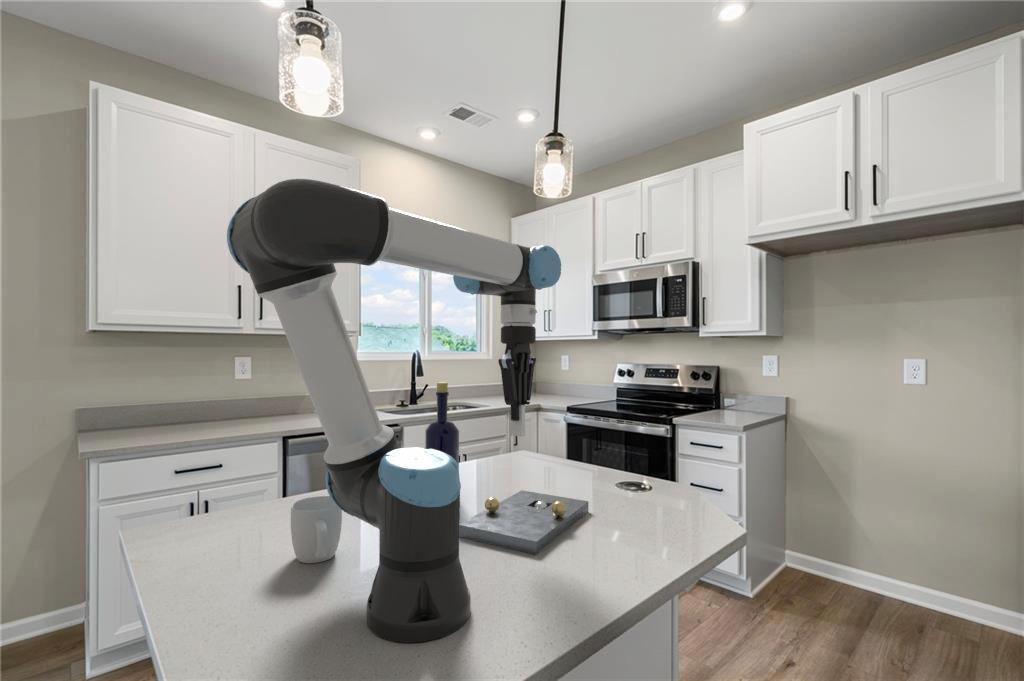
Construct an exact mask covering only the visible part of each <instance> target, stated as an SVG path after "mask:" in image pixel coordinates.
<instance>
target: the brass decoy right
mask: <svg viewBox="0 0 1024 681" xmlns="http://www.w3.org/2000/svg"><path fill="white" fill-rule="evenodd" d="M551 509H552V513H553V514H554V515H555V516H558V517H560V516H563V515H564V514H565V512H566V506H565V504H564V503H563V502H561V501H556V502H554V503H553V505H552V508H551Z"/></svg>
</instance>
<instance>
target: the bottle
mask: <svg viewBox="0 0 1024 681" xmlns="http://www.w3.org/2000/svg"><path fill="white" fill-rule="evenodd" d="M448 388H449V386H448V382H445V381H443V382H441V381H439V382H436V392H435V397H436V421H432V422H430V423H429V424H428V426H427V427H426V428H425V430H424V449H435V450H439V451H441V452H444V453H446V454H448V455H450V456H451V457H452V458H453V459H454V460H455V461H456V462H457V465H458V468H459V469H460V464H459V463H460V459H459V458H460V457H459V456H460V451H459V450H460V430H459V429H458V427H457V426H456V424H455V423H454V422H452V421H450V420H448V396H449V391H448Z"/></svg>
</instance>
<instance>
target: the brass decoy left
mask: <svg viewBox="0 0 1024 681" xmlns="http://www.w3.org/2000/svg"><path fill="white" fill-rule="evenodd" d="M499 502H500V501H499V500H498V499H497V498H496V497H488V498H487V499H486V500H485V503H484V508H485V510H487V511H488V512H495V511H497V510H498V508H499Z"/></svg>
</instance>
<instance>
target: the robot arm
mask: <svg viewBox="0 0 1024 681" xmlns="http://www.w3.org/2000/svg"><path fill="white" fill-rule="evenodd" d="M226 243H227V248H228V250H229V253H230V255H231V257H232V259H233V260H234V261H235V263H236V264H237V265H238V266H239V267H240V268H241V269H242V270H243V271H244V272H246V273H247V274H249V277H250V280H251V281H252V284H253V286H254V289H255V291H256V293H257V296H258V297H260V298H261V299H264V300H266V301H268V302H270V303H271V304H272V305H273V306H274V309H275V311H276V314H277V316H278V319H279V322H280V323H281V327H282V330H283V332H284V334H285V337H286V340H287V341H288V344H289V348H290V350H291V352H292V354H293V356H294V359H295V362H296V364H297V367H298V369H299V372H300V374H301V377H302V380H303V382H304V385H305V387H306V390H307V393H308V395H309V397H310V400H311V402H312V405H313V408H314V411H315V412H316V416H317V417H318V420H319V423H320V425H321V427H322V430H323V433H324V435H325V438H326V440H327V443H328V446H327V448H326V449H325V452H324V454H323V460H324V462H325V466H326V468H327V470H326V472H325V488H326V490H327V493H328V496H330V497H331V499H332V500H333V502H334V503H335V504H336V505H337V506H338V507H339V508H340V509H341V510H342V512H344V513H346V514H348V515H350V516H352V517H355V518H358V519H359V520H361V521H362V522H365V523H367V524H369V525H370V526H373V527H374V528H377V529H378V530H379V539H378V540H379V542H378V543H379V544H378V546H379V548H378V549H379V553H378V554H379V558H378V560H379V563H378V567H377V570H376V572H375V576H374V580H373V583H372V586H371V590H370V593H369V596H368V598H367V602H366V610H365V611H366V613H365V614H366V616H365V617H366V618H365V620H366V625H367V627H368V629H369V630H370V631H371V632H372V633H374V635H376V636H378V637H379V638H382V639H384V640H388V641H392V642H396V643H398V642H399V643H422V642H427V641H429V642H430V641H433V640H437V639H440V638H443V637H445V636H448V635H450V634H452V633H454V632H455V631H457V630H458V629H460V628H461V627H462V626H464V624H466V622H467V621H468V619H469V617H470V615H471V603H472V602H471V599H472V598H471V592H470V589H469V587H468V584H467V581H466V578H465V574H464V571H463V567H462V563H461V560H460V537H459V524H460V517H461V516H460V514H461V513H460V512H461V511H460V509H461V507H460V506H461V505H460V504H461V488H462V484H461V480H460V467H459V468H458V465H457V462H456V461H455V460H454V459H453V458H452V457H451V456H450V455H448V454H446V453H444V452H441V451H439V450H435V449H425V447H421V446H420V447H418V446H417V447H416V446H415V447H414V446H413V447H411V446H410V447H400V446H399V443H398V439H397V438H396V435H395V432H394V430H393V428H392V427H390V426H387V425H385V424H382V423H381V421H380V418H379V415H378V413H377V410H376V407H375V404H374V400H373V399H372V396H371V394H370V390H369V388H368V385H367V383H366V380H365V377H364V374H363V371H362V368H361V366H360V362H359V360H358V357H357V355H356V352H355V349H354V347H353V344H352V340H351V338H350V336H349V332H348V330H347V327H346V324H345V322H344V318H343V316H342V313H341V310H340V306H339V305H338V303H337V300H336V296H335V294H334V290H333V288H332V284H333V282H334V281H335V278H336V277H337V274H338V272H337V269H336V267H335V264H340V263H341V264H357V265H363V266H365V267H366V266H369V267H371V266H373V265H375V264H376V263H378V261H379V262H385V263H389V264H394V265H400V266H405V267H410V268H414V269H419V270H420V269H421V270H425V271H431V272H435V273H440V274H446V275H451V276H452V278H453V279H452V280H453V283H454V286H455V287H456V289H457V290H458V291H460V292H461V293H466V294H470V295H483V296H484V295H486V296H497V297H500V323H501V325H502V326H501V327H500V343H501V344H503V345H505V349H504V355H505V356H503V357H501V358H498V365H499V367H500V373H501V382H502V390H503V397H504V403H505V406H506V405H507V406H510V436H514V437H524V436H526V405H528V406H529V405H531V404H530V403H531V402H530V401H531V396H532V388H533V379H534V371H535V370H534V369H535V366H536V363H537V357H534V356H533V357H532V355H531V351H532V350H531V347H530V346H531V345H534V344H535V343H536V341H537V340H536V339H537V338H536V336H537V335H536V332H537V330H536V329H537V328H536V327H535V326H533V325H535V324H536V314H537V312H538V311H537V309H536V304H537V303H536V301H537V300H536V297H537V296H536V293H537V292H536V290H538V291H539V290H540V291H541V290H542V289H546V288H547V289H548V288H552V287H553V286H555V285H556V284H557V283H558V282H559V280H560V279H561V278H560V277H561V275H562V262H561V258H560V255H559V254H558V252H557V250H555V248H553V247H551V246H550V245H534V246H532V247H529V246H523V245H520V244H518V243H517V244H516V243H512V242H508V241H504V240H502V239H498V238H494V237H491V236H487V235H484V234H482V233H477V232H474V231H470V230H467V229H463V228H461V227H458V226H457V227H456V226H453V225H451V224H450V225H449V224H446V223H442V222H440V221H435V220H433V219H429V218H426V217H422V216H419V215H416V214H412V213H409V212H406V211H405V212H404V211H402V210H399V209H394V208H391V207H389V205H388V203H387V201H386V200H385V199H384V198H382V197H380V196H377V195H374V194H371V193H366V192H363V191H361V190H357V189H353V188H349V187H346V186H342V185H339V184H335V183H330V182H326V181H321V180H316V179H309V178H291V179H286V180H282V181H279V182H277V183H275V184H272V185H271V186H269V187H268V188H267V189H266V190H264V191H263V192H262V193H259V194H258V195H256V196H254V197H251V198H249V199H248V200H246V201H245V202H243V203H242V204H241V205H240V206H239V207H238V208H237V209H236V211H235V212H234V214H233V215H232V217H231V219H230V221H229V223H228V225H227V231H226Z"/></svg>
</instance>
